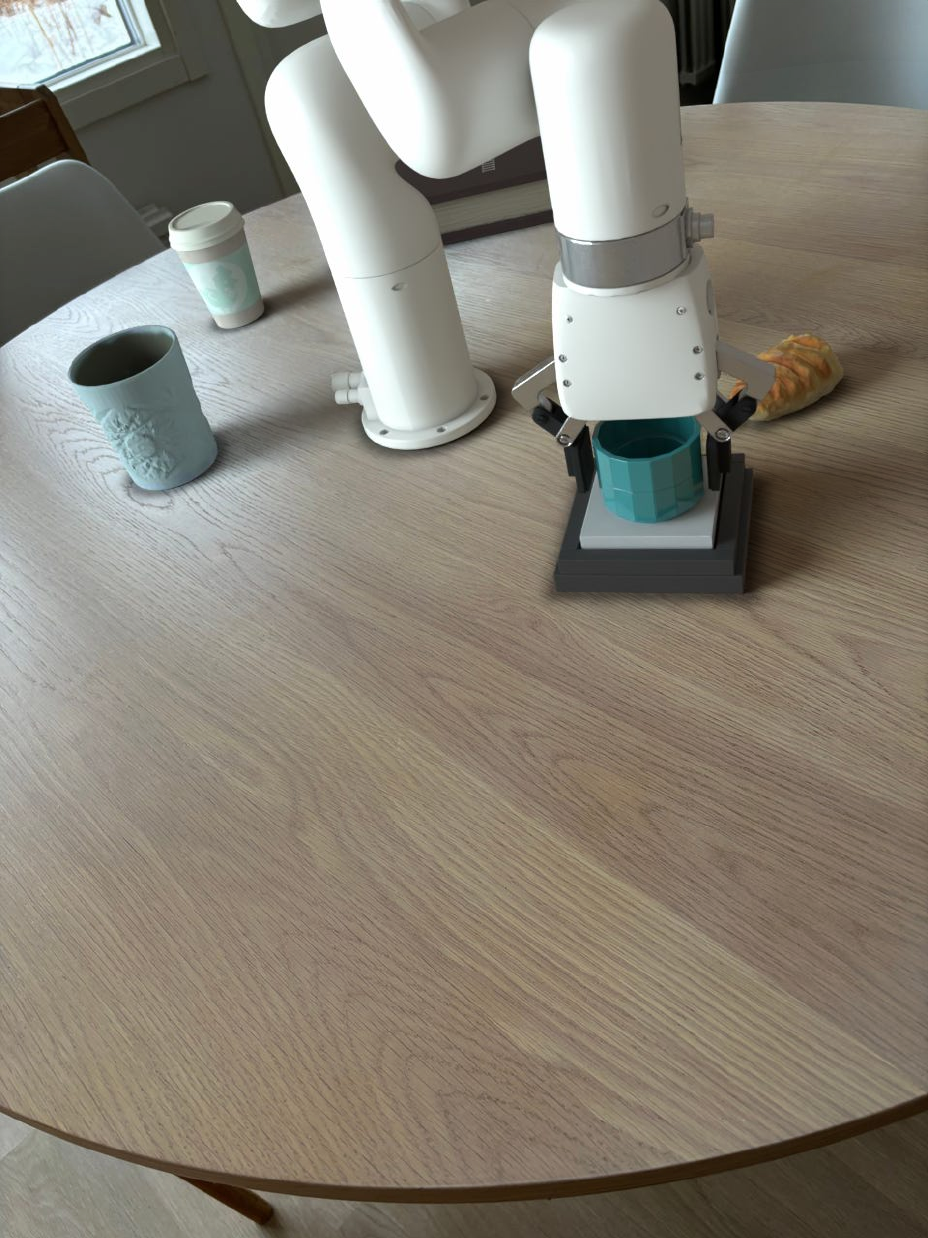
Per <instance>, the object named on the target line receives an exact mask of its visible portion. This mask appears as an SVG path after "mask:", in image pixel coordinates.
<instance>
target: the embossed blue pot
mask: <svg viewBox="0 0 928 1238" xmlns="http://www.w3.org/2000/svg"><path fill="white" fill-rule="evenodd" d="M66 376H67V379H68V380H67V381H68V382H69V383H70V385H71V387H72V388H73V389H74V391H75V392H76V394H77V395H78V396H79V398H80V399H81V401H82V403H83V404H84V405H85V406H86V407H87V408H88V411H89V412H90V414H91V417H92V418H93V419H94V420H95V421H96V422H97V423H98V424H99V425H100V426H101V430H102V432H103V434H104V436H105V439H106V440H108V441H109V444H110V446H111V448H112V449H113V450H114V452H115V453H116V454H117V456H118V459H119V461H120V462H121V464H122V465H123V468H124V469H125V470H126V472H127V473H128V475H129V476H130V478H131V479H132V481H133V482H134V484H136V485H137V486H138V487H140V488H141V489H143V490H146V491H147V490H148V491H165V490H170V489H174V488H177V487H180V486H183V485H186V484H187V483H188V484H189V483H190V482H192V481H193V480H195V479H197V478H198V477H200V476H201V475H203V474H204V473H206V471H207V470H209V468H210V467H211V466H212V465H213V464H214V463H215V461H216V459H217V457H218V453H219V451H218V445H217V442H216V439H215V436H214V434H213V431H212V429H211V426H210V423H209V421H208V418H207V417H206V416H205V414H204V412H203V409H202V404H201V400H200V399H199V396H197V392H196V390H195V387H194V384H193V377H192V375H191V373H190V369H189V366H188V363H187V361H186V358H185V356H184V353H183V350H182V347H181V344H180V341H179V339H178V336H177V334H176V333H175V330H173V329H172V328H170V327H168V326H165V325H160V324H145V325H138V326H131V327H128V328H126V329H122V330H118V331H116V332H113V333H111V334H109V335H106V336H104V337H102V338H100V339H98V340H96V341H95V342H93V343H91V344H89V345H88V346H87V347H85V348H84V349H83V350H81V351H80V352H79V353H78V354H77V355H76V356H75V357H74V358H73V360H72V361H71V364H70V365H69V368H68V369H67V374H66Z"/></svg>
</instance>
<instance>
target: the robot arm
mask: <svg viewBox="0 0 928 1238" xmlns="http://www.w3.org/2000/svg"><path fill="white" fill-rule="evenodd" d="M236 3H238V5H239V6H240V8H241V10H242V12H244V14H245V15H246V16H248V18H249V19H250V20H251V21H252V22H254V23H256V24H257V25H259V26H261V27H264V28H269V29H274V28H275V29H276V28H284V27H288V26H291V25H296V24H298V23H301V22H304V21H306V20H309V19H312V18H314V17H316V16H319V15H321V14H322V17H323V20H324V24H325V27H326V31H327V33H326V34H324V35H322V36H319V37H317V38H315V39H313V40H311V41H309V42H307V43H306V44H303V45H301V46H300V47H298V48H297V49H295V50H293V51H292V52H291V53H289V54H288V55H287V56H285V57H284V58H283V59H281V61H279V63H278V64H277V65H276V66H275V68H274V70H273V71H272V73H270V76H269V79H268V81H267V83H266V86H265V92H264V107H265V115H266V119H267V122H268V124H269V127H270V130H271V133H272V136H273V137H274V139H275V141H276V144H277V146H278V147H279V149H280V151H281V154H282V155H283V157H284V159H285V161H286V163H287V165H288V167H289V169H290V171H291V173H292V175H293V177H294V179H295V182H296V183H297V185H298V187H299V189H300V191H301V193H302V196H303V198H304V200H305V203H306V205H307V207H308V210H309V212H310V215H311V218H312V220H313V222H314V226H315V228H316V231H317V234H318V237H319V239H320V243H321V245H322V248H323V252H324V255H325V258H326V261H327V264H328V267H329V269H330V272H331V276H332V279H333V282H334V285H335V288H336V291H337V294H338V297H339V301H340V303H341V307H342V310H343V312H344V316H345V318H346V322H347V325H348V329H349V331H350V335H351V337H352V341H353V343H354V346H355V350H356V353H357V355H358V359H359V362H360V365H361V371H351V370H350V371H334V372H332V374H331V377H330V386H331V389H332V391H333V392H334V400H335V402H336V404H337V405H350V404H357V403H358V404H359V405H360V406H363V409H362V412H361V424H362V426H363V428H364V429H363V430H364V432H365V433H366V435H367V437H368V438H369V439H370V440H372V441H373V442H374V443H376V444H378V445H380V446H383V447H386V448H389V449H393V450H404V451H405V450H406V451H407V450H421V449H428V448H433V447H437V446H441V445H443V444H447V443H450V442H452V441H455V440H457V439H459V438H462V437H463V436H465V435H467V434H468V433H470V432H471V431H474V430H475V429H476V428H478V427H479V426H480V425H481V424H482V423H484V422H485V421H486V419H487V418H489V415H491V413H492V412H493V410H494V408H495V406H496V402H497V392H496V387H495V384H494V381H493V379H492V378H491V377H490V376H489V374H488V373H486V372H484V371H483V370H481V369H479V368H476V367H474V366H473V364H472V360H471V356H470V352H469V348H468V344H467V339H466V335H465V331H464V327H463V321H462V318H461V314H460V310H459V305H458V301H457V297H456V293H455V290H454V285H453V281H452V277H451V273H450V268H449V264H448V259H447V255H446V253H445V252H446V251H445V247H444V245H443V243H442V239H441V235H440V231H439V227H438V223H437V219H436V216H435V213H434V211H433V209H432V207H431V205H430V204H429V202H428V200H427V199H426V198H425V197H424V196H423V195H422V194H421V193H420V192H419V191H418V190H417V189H415V188H414V187H413V186H412V185H410V184H409V183H407V182H406V181H405V180H404V179H402V178H401V177H400V176H399V175H398V173H397V172H396V170H395V164H396V162H397V161H398V160H399V159H401V160H402V161H403V162H404V163H405V164H406V165H408V166H409V167H410V168H411V169H413V170H414V171H416V172H417V173H419V174H421V175H424V176H426V177H430V178H437V179H444V178H450V177H454V176H458V175H460V174H462V173H465V172H467V171H469V170H471V169H474V168H475V167H477V166H479V165H481V164H483V163H485V162H487V161H489V160H491V159H493V158H495V157H497V156H499V155H501V154H502V153H504V152H506V151H508V150H510V149H512V148H514V147H516V146H518V145H520V144H522V143H524V142H526V141H528V140H530V139H533V138H535V137H538V136H540V135H541V141H542V147H543V153H544V160H545V166H546V172H547V179H548V185H549V192H550V198H551V204H552V209H553V217H554V221H553V222H554V229H555V235H556V241H557V247H558V254H559V255H558V256H559V260H558V261H557V263H556V264H555V266H554V269H553V275H552V288H551V325H552V326H551V327H552V345H553V354H551V355H550V356H548V357H547V358H545V359H544V360H542V361H541V362H540V363H538V364H537V365H535V366H534V367H533V368H530V369H529V370H528V371H526V372H524V374H522V375H521V376H519V377H518V378H517V379H516V380H515V382H514V384H513V387H512V390H511V396H512V397H513V399H514V400H515V401H516V402H517V403H518V404H519V405H520V406H521V408H522V409H524V410H525V412H526V413H529V415H531V420H532V422H534V423H535V424H536V425H538V426H539V427H540V428H541V429H543V430H545V431H546V432H547V433H548V434H549V435H551V436H552V437H555V443H556V444H557V445H558V446H559V447H560V448H561V447H562V448H563V453H564V458H565V464H566V470H567V475H568V477H569V478H570V477H575V483H576V490H577V489H578V493H579V494H580V493H586V492H587V491H589V489H590V485H591V482H592V478H593V474H594V470H595V464H594V458H595V456H594V450H593V444H592V437H591V433H590V426H589V425H587V422H596V421H598V422H599V421H603V420H630V419H653V418H676V417H690V416H693V417H694V418H695V419H696V420H697V421H698V422H699V423H700V424H701V425H702V428H703V429H704V430H705V431H706V432H707V434H706V439H705V454H706V459H707V475H708V489H711V491H719V490H720V483H721V475H722V473H731V464H732V453H733V452H732V437H733V433H734V432H735V431H736V430H737V429H738V428H740V427H741V426H742V425H743V424H744V423H746V422H747V421H749V418H750V417H751V416H752V415H753V414H754V413H755V412H756V408H757V407H758V405H759V404H760V402H762V401H763V399H764V398H765V396H766V395H767V394H768V392H769V391H770V389H771V388H772V386H773V385H774V383H775V377H776V368H775V366H774V365H772V364H770V363H768V362H766V361H763V360H761V359H759V358H757V356H755V355H753V354H751V353H748V352H745V351H743V350H742V349H739V348H737V347H735V346H732V345H731V344H728V343H727V342H724V341H722V340H721V338H720V330H719V329H720V328H719V320H718V319H719V318H718V312H717V304H716V298H715V292H714V286H713V280H712V276H711V272H710V271H711V270H710V268H709V264H708V260H707V256H706V254H705V250H704V248H703V247H702V245H700V243H701V240H706V239H714V237H715V215H714V213H713V212H712V213H703V214H701V212H700V211H698V212H694V207H693V206H691V207H690V202H689V196H687V189H686V175H685V161H684V160H685V159H684V144H683V133H682V132H683V130H682V115H681V101H680V86H679V72H678V55H677V44H676V43H677V41H676V30H675V24H674V21H673V17H672V16H671V13H670V11H669V9H668V8H667V7H666V5H665V4H664V3H663V2H662V1H661V0H483V1H482V2H480V3H479V2H478V3H477V4H475V5H473V6H472V5H471V3H470V0H236ZM722 373H723V374H724V375H725V374H726V375H728V376H730V377H732V378H735V379H736V380H738V379H739V380H741V381H743V382H745V383H746V385H745V386H744V388H742V389H741V390H740V391H739V392H738V393H737V394H735V395H734V396H733V397H732V398H731V399H730V398H729V400H728V398H727V397H725V395H723V393H722V392H721V391H720V390H719V389H718V382H719V380H720V379H721V376H722ZM555 382H556V387H557V394H558V398H559V402H560V404H558V403H557V402H556V401H554V400H552V399H551V398H550V397H547V396H545V394H544V392H543V390H545V389H546V388H548V387H549V386H551V385H553V383H555Z"/></svg>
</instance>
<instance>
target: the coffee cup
mask: <svg viewBox="0 0 928 1238" xmlns="http://www.w3.org/2000/svg"><path fill="white" fill-rule="evenodd" d="M245 224H246V221H245V219H244V218H243V215H242V213H241V212H239V211H238V210H237V208H236V206H235V205H234V204H233V203H232V202H230V201H225V200H217V201H216V200H215V201H210V202H205V203H201V204H199V205H195V206H192V207H191V208H187V209H186V210H184V211H182V212H180V213H179V214H177V215H176V216H175V217H173V218H172V219H171V220H170V222H169V223H168V233H169V236H168V241H169V243H170V244H169V245H170V248H171V249H172V250H174V251H175V252H176V253H177V255H178V257H179V259H180V260H181V262H182V264H183V267H184V268H185V270H186V272H187V273H188V275H189V277H190V279H191V281H192V282H193V284H194V286H195V288H196V290H197V291H198V293H199V295H200V296H201V299H202V300H203V302H204V304H205V306H206V307H207V309H208V311H209V312H210V315H211V316H212V318H213V320H214V321H215V323H216V325H217V326H218V327H219V328H222V329H226V330H227V329H237V328H240V327H244V326H247V325H249V324H252V323H253V322H255V321H256V320H258V319H259V318H260V317H261V316H262V315H263V313H264V312H265V306H264V301H263V298H262V294H261V289H260V285H259V281H258V278H257V274H256V271H255V266H254V262H253V258H252V254H251V250H250V247H249V243H248V239H247V235H246V231H245V228H244V226H245Z"/></svg>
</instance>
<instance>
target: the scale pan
mask: <svg viewBox="0 0 928 1238" xmlns="http://www.w3.org/2000/svg"><path fill="white" fill-rule="evenodd" d="M704 461H705V475H706V484H705V491H704V494H703V496H702V497H701V498H700V499H699V501H698V502H697V503H696V504H695V505H694V506H693V507H691V508H690V509H689V510H688V511H687V512H685V513H684V514H682V515H680V516H678V517H676V518H674V519H671V520H668V521H664V522H659V523H636V522H632V521H629V520H626V519H624V518H622V517H618V516H617V515H616V514H614V513H613V512H612V511H610V510H609V509H607V508H606V507H605V505H604V502H603V500H602V497H601V493H600V487H599V481H598V474H597V472H596V476H595V480H594V484H593V488H592V491H591V495H590V499H589V503H588V507H587V511H586V514H585V518H584V522H583V526H582V530H581V534H580V542H581V547H582V549H714V545H715V536H716V528H717V520H718V512H719V504H720V496H721V488H722V480H723V473H722V475H721V483H720V490H719V491H711V489H708V475H707V459H706V456H704Z"/></svg>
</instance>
